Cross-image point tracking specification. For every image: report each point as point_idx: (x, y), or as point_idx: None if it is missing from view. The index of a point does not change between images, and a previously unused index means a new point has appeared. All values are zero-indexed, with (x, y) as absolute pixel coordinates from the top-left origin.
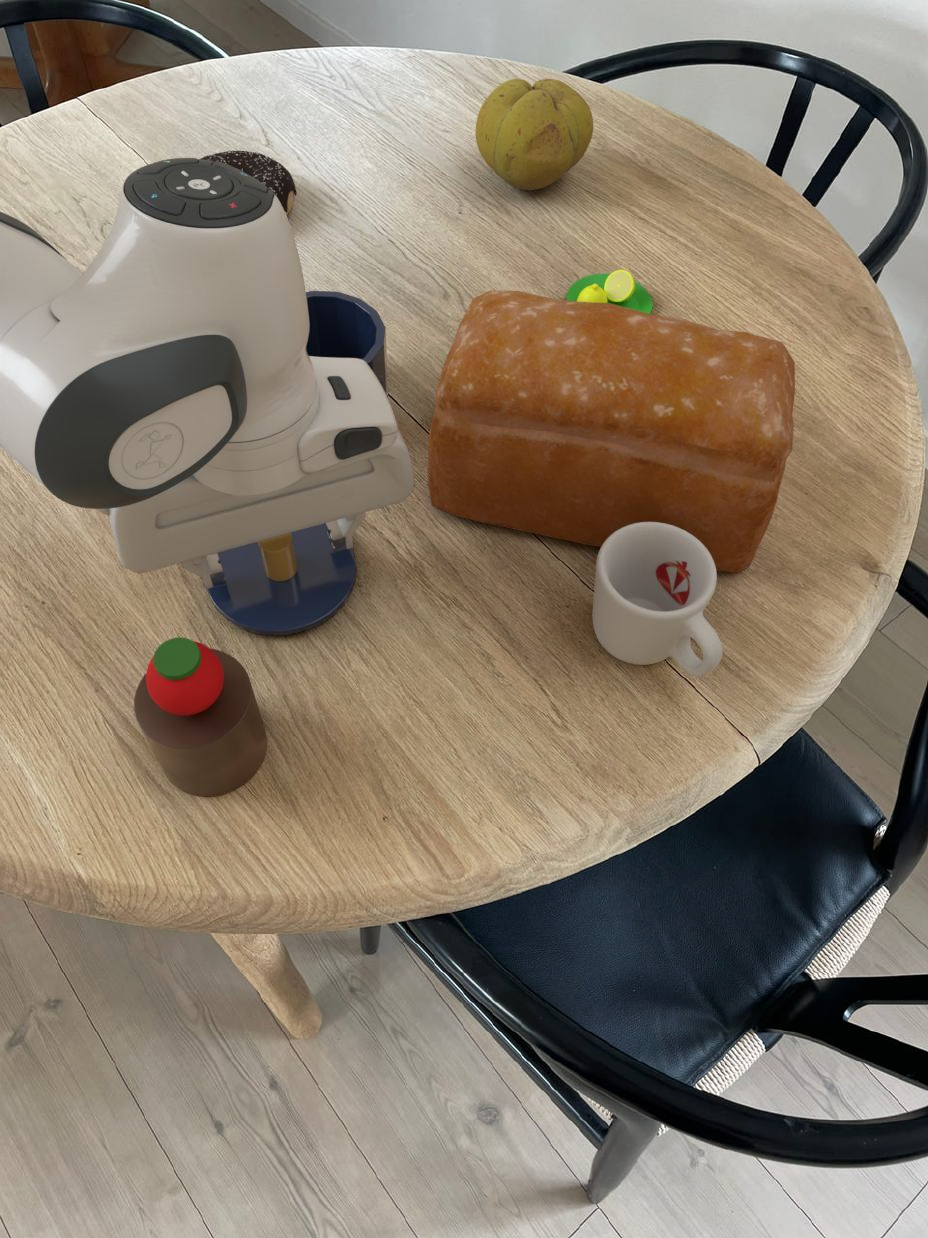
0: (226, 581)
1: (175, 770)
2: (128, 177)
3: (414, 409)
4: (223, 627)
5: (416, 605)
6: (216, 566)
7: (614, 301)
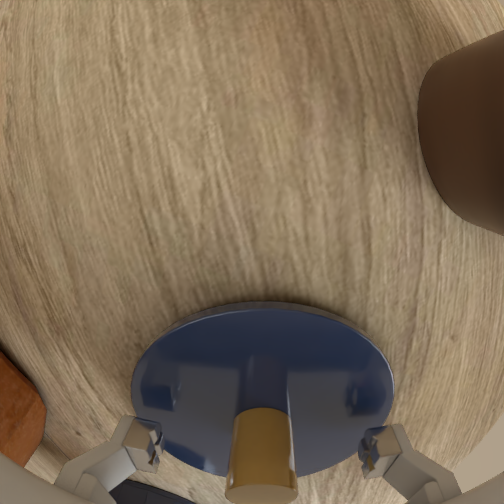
0: (356, 425)
1: None
2: None
3: None
4: (391, 354)
5: (60, 267)
6: (383, 463)
7: None
